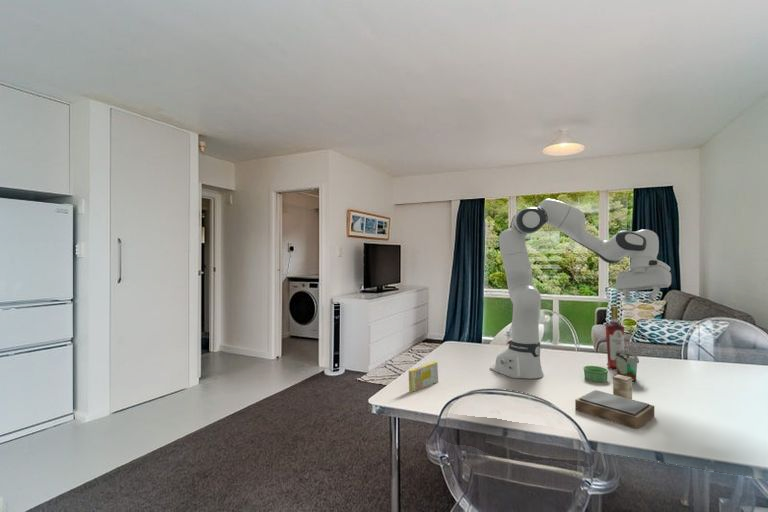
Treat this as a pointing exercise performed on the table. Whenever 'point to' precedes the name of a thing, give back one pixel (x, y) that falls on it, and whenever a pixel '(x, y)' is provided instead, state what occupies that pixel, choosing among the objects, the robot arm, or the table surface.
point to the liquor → (614, 338)
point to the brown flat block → (615, 408)
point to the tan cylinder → (622, 386)
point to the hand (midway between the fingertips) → (639, 299)
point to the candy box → (423, 376)
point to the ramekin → (595, 373)
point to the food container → (626, 364)
